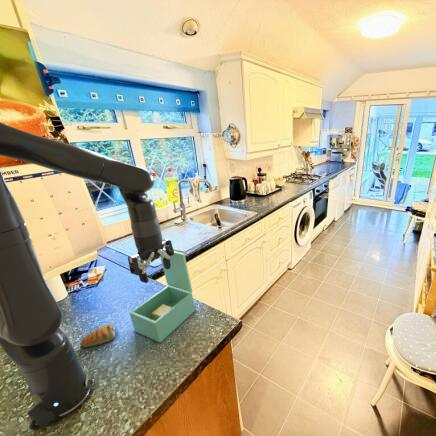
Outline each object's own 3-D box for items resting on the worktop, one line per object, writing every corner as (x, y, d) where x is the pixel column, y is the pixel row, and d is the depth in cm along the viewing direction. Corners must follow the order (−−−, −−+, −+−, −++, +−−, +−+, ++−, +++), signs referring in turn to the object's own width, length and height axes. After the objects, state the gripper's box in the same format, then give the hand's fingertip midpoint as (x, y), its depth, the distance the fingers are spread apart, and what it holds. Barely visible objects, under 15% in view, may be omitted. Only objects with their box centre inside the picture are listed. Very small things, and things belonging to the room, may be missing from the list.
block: (164, 327, 87) (161, 316, 85) (154, 323, 88) (151, 312, 86) (174, 317, 91) (172, 307, 89) (165, 314, 93) (162, 304, 91)
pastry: (81, 353, 77) (78, 344, 76) (82, 339, 82) (78, 331, 81) (116, 338, 83) (113, 330, 81) (115, 326, 88) (112, 318, 86)
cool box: (160, 342, 81) (154, 323, 78) (135, 331, 86) (129, 312, 82) (195, 310, 96) (192, 293, 92) (172, 302, 100) (168, 285, 97)
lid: (182, 254, 85) (193, 248, 89) (157, 248, 89) (168, 242, 94) (191, 292, 92) (200, 285, 96) (167, 284, 96) (177, 277, 101)
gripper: (157, 221, 81) (166, 262, 87) (115, 238, 68) (128, 284, 74) (174, 225, 78) (181, 266, 84) (133, 243, 66) (145, 290, 72)
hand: (156, 275), depth 79 cm, fingers open, 8 cm apart
